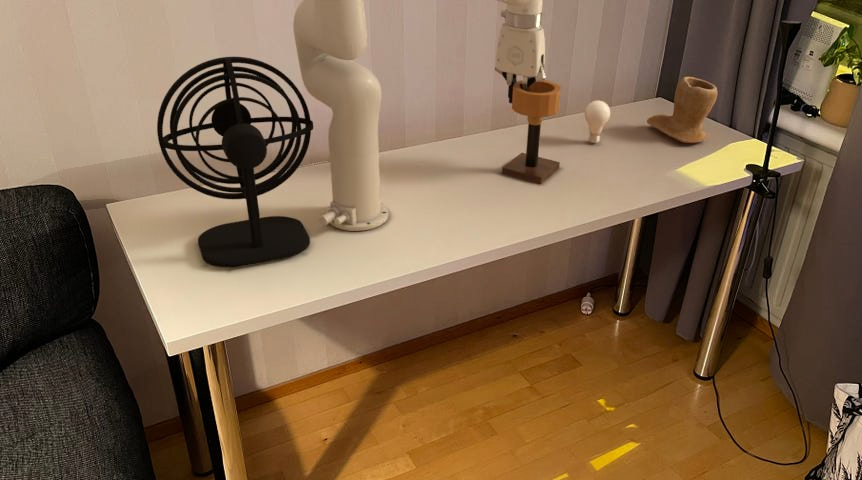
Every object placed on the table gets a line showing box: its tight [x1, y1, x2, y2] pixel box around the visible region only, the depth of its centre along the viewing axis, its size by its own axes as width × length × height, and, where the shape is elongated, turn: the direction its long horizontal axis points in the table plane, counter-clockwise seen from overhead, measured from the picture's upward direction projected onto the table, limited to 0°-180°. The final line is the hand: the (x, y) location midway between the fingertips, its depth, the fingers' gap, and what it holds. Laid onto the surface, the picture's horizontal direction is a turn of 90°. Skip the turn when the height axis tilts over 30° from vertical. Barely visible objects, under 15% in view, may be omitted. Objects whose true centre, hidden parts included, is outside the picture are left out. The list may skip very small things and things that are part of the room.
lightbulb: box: [584, 99, 612, 144], centre depth 195 cm, size 6×6×11 cm
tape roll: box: [511, 79, 562, 118], centre depth 173 cm, size 10×10×5 cm
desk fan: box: [156, 56, 314, 269], centre depth 141 cm, size 27×18×35 cm, turn 115°
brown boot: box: [646, 76, 718, 144], centre depth 201 cm, size 15×12×15 cm
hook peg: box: [525, 116, 544, 167], centre depth 178 cm, size 3×3×13 cm
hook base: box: [501, 152, 560, 185], centre depth 182 cm, size 10×10×2 cm
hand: (518, 102), depth 176 cm, fingers closed on tape roll
